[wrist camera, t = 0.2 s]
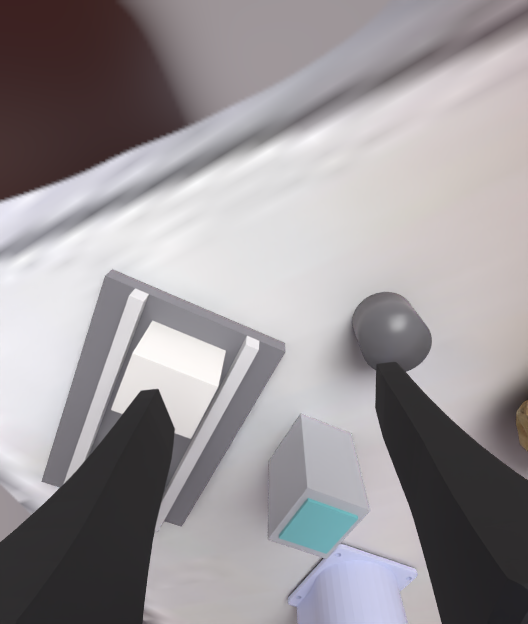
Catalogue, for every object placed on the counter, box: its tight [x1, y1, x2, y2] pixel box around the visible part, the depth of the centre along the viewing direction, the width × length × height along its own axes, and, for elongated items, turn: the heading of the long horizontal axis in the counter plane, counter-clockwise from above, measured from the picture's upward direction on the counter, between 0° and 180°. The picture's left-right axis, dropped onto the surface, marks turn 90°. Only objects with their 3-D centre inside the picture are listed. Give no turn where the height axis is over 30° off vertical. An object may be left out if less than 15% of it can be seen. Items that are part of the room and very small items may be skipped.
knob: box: [352, 292, 432, 372], centre depth 22 cm, size 4×4×3 cm
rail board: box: [42, 270, 285, 532], centre depth 25 cm, size 18×11×4 cm, turn 155°
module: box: [268, 414, 370, 559], centre depth 25 cm, size 5×4×6 cm
